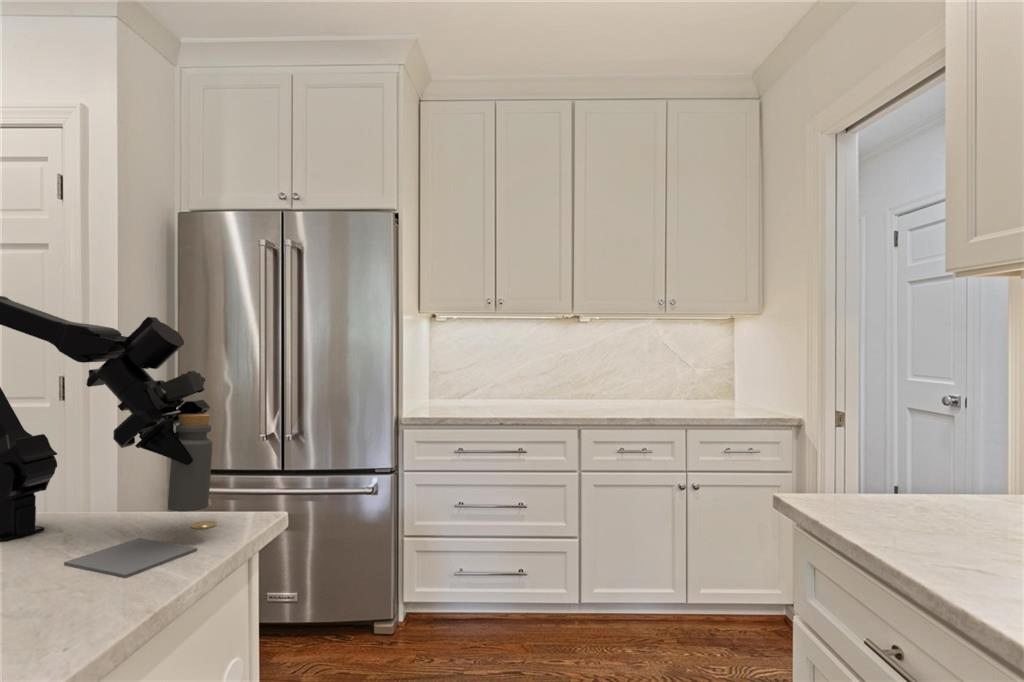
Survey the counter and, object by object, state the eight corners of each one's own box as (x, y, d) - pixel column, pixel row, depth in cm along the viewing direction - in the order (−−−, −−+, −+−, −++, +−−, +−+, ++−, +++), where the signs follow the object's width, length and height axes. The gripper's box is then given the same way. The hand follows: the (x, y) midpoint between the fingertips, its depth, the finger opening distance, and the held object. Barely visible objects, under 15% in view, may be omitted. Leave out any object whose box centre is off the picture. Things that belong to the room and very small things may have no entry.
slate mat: (64, 564, 88) (64, 562, 88) (139, 540, 100) (139, 537, 100) (125, 577, 84) (125, 574, 84) (197, 550, 96) (197, 547, 96)
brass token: (185, 527, 107) (185, 525, 107) (204, 521, 111) (204, 519, 111) (203, 530, 105) (203, 528, 105) (221, 523, 109) (221, 522, 109)
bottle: (189, 512, 96) (196, 416, 97) (158, 509, 98) (165, 414, 99) (216, 505, 102) (222, 414, 103) (186, 503, 103) (192, 412, 104)
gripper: (137, 356, 91) (208, 434, 91) (201, 353, 110) (260, 418, 110) (81, 407, 91) (152, 485, 91) (154, 396, 110) (214, 460, 110)
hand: (200, 459), depth 100 cm, fingers closed on bottle, 6 cm apart
